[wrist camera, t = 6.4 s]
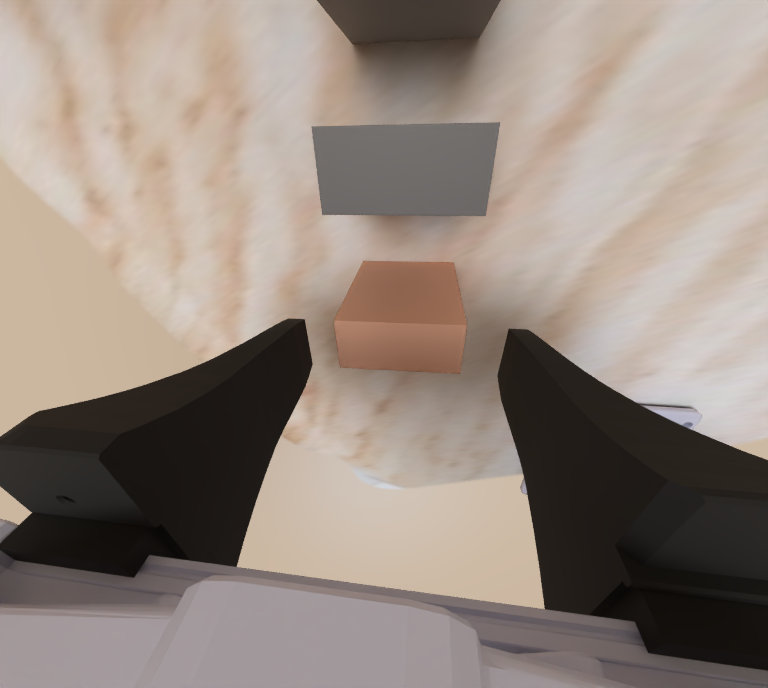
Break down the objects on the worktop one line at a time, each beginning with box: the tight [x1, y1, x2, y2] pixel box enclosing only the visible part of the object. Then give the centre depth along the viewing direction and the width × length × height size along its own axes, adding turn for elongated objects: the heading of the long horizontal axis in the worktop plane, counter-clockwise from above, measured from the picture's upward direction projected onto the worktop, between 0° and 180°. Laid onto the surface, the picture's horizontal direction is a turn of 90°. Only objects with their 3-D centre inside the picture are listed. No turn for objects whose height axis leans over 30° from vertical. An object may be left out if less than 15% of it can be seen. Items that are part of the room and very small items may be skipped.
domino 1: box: [334, 261, 467, 374], centre depth 13 cm, size 2×4×6 cm, turn 91°
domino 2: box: [312, 122, 500, 216], centre depth 10 cm, size 2×4×6 cm, turn 91°
